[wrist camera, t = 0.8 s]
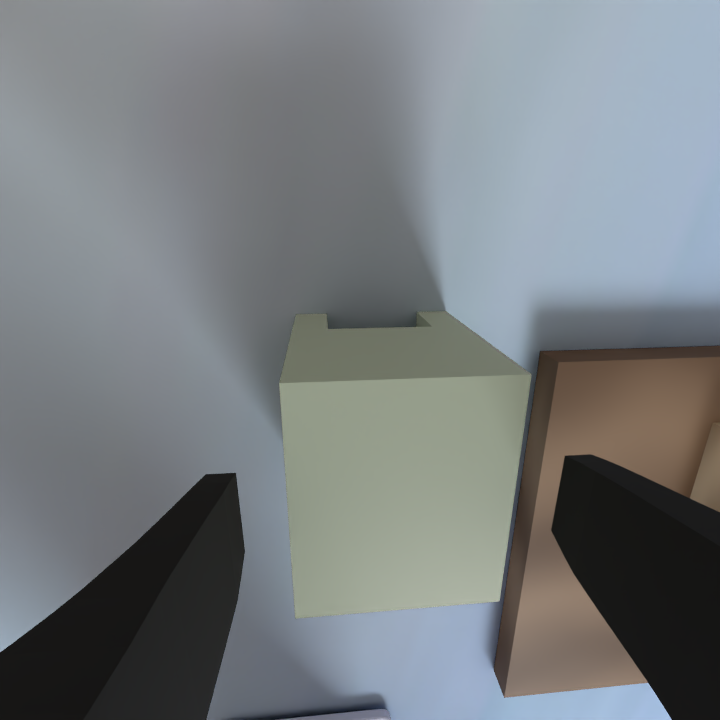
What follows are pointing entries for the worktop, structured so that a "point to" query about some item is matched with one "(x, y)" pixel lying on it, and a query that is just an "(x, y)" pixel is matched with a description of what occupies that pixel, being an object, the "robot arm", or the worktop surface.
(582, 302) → the worktop surface
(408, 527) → the saddle block
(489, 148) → the worktop surface
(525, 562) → the cleat board
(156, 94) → the worktop surface
